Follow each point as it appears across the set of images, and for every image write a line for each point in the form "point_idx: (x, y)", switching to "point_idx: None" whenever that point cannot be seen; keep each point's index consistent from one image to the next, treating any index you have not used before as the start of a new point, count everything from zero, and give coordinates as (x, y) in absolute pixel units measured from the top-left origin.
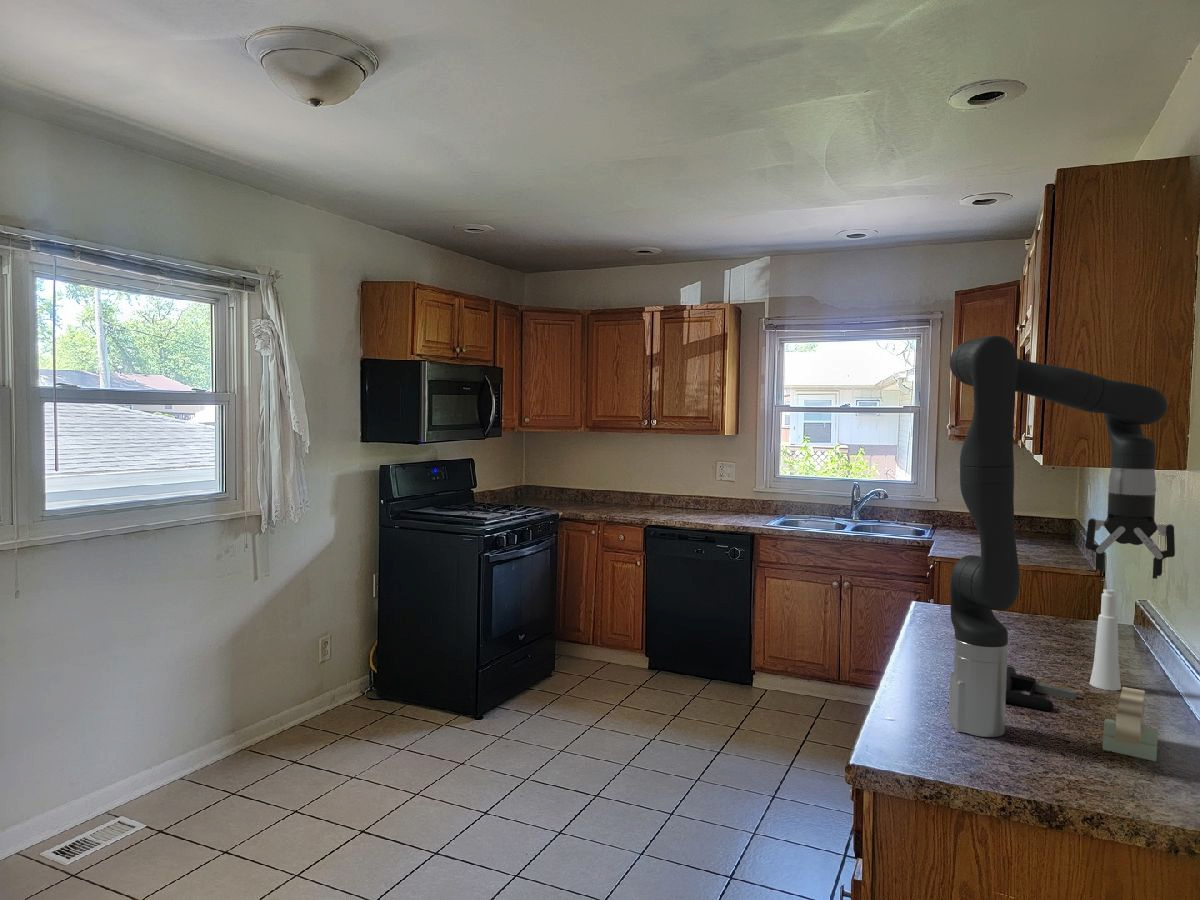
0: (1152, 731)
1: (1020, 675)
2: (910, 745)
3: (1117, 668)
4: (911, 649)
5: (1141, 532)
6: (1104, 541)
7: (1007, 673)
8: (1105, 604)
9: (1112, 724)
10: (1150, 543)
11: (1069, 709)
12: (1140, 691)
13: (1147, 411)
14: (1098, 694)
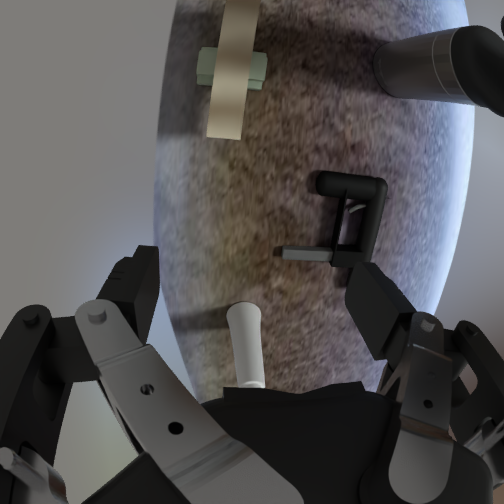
0: (204, 59)
1: (349, 266)
2: (440, 9)
3: (232, 328)
4: None
5: (207, 493)
6: (448, 358)
7: (365, 260)
8: None
9: (256, 59)
10: (123, 380)
11: (294, 198)
12: (213, 127)
13: None
14: (253, 281)
